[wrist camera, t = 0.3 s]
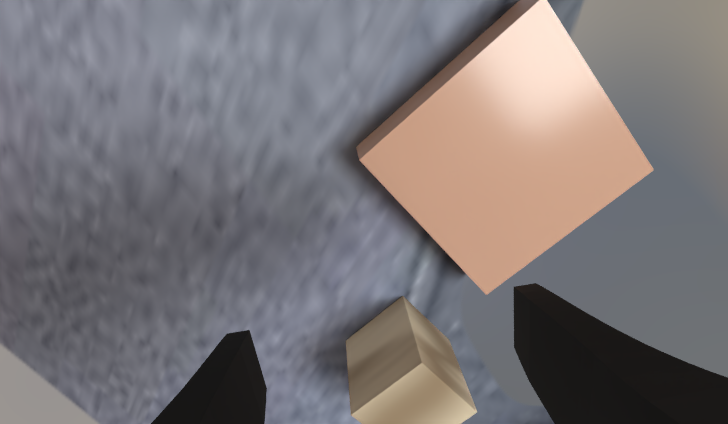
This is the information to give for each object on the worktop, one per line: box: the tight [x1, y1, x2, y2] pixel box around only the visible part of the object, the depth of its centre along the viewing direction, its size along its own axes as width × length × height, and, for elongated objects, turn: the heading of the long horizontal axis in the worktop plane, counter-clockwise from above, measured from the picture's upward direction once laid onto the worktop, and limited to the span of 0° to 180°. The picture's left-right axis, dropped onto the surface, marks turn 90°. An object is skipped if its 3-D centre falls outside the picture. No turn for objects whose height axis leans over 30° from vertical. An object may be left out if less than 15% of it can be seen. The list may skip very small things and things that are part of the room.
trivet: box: [356, 0, 653, 295], centre depth 20 cm, size 9×9×2 cm
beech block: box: [346, 296, 477, 424], centre depth 22 cm, size 4×4×5 cm
